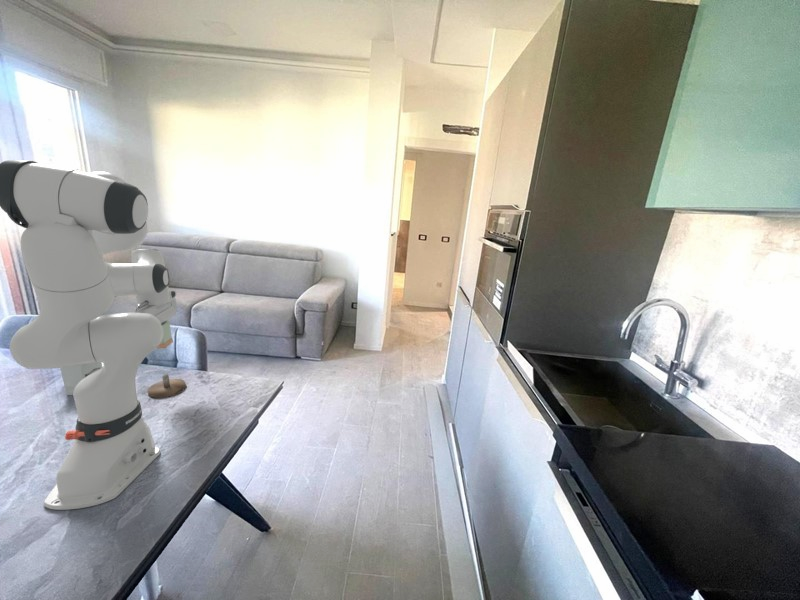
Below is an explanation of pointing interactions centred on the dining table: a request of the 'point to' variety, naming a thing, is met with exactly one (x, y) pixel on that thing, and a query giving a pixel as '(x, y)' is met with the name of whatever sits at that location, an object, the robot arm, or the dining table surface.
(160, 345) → the sleeve
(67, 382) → the supplement box
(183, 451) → the dining table surface
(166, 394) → the pin base
